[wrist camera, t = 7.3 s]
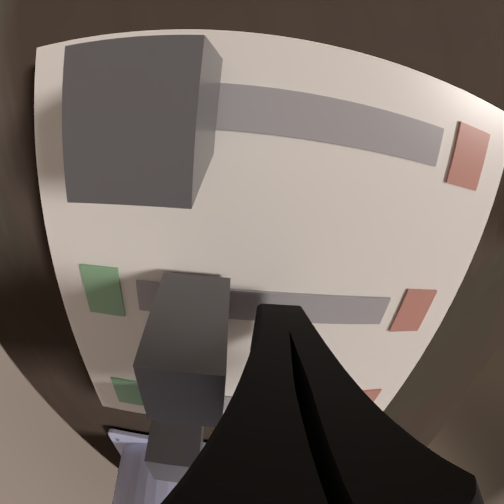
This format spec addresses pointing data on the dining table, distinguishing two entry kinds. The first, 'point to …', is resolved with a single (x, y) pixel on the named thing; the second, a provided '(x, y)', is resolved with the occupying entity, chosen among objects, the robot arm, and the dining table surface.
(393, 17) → the dining table surface
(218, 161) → the breaker board
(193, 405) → the block
